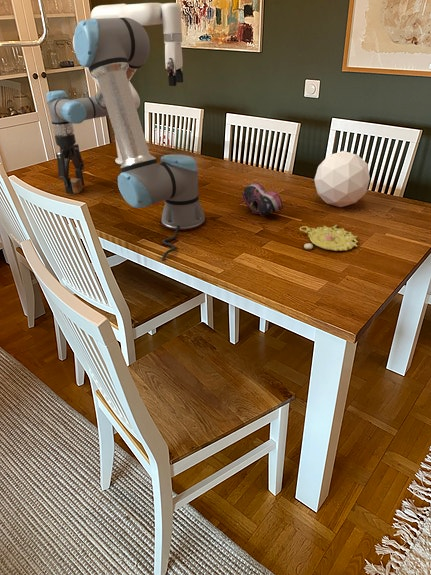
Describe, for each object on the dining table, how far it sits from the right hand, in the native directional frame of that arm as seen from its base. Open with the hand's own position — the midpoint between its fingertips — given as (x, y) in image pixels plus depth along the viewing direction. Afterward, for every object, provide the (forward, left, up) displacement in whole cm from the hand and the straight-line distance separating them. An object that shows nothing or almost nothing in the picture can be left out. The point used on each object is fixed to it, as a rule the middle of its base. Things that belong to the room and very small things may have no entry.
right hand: (75, 189), depth 185 cm
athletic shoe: (-37, -69, -1) cm, 79 cm away
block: (0, 0, -1) cm, 1 cm away
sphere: (-37, -101, -1) cm, 107 cm away
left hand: (+23, -47, +35) cm, 63 cm away
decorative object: (-64, -86, -1) cm, 107 cm away
